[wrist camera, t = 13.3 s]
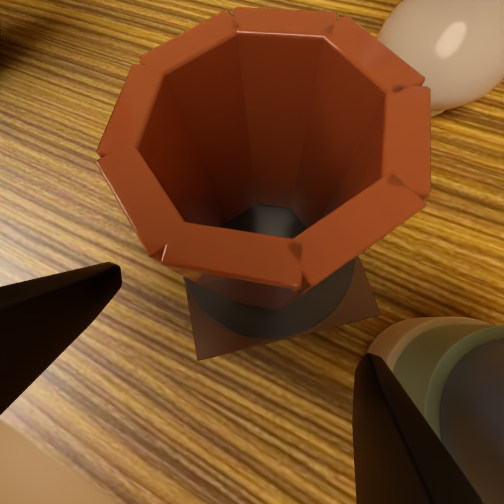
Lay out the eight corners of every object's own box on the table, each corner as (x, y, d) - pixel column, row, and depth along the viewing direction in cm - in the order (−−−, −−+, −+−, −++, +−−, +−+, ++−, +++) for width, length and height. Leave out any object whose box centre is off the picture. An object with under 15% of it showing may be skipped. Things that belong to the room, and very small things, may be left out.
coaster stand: (348, 316, 16) (387, 314, 11) (218, 349, 16) (193, 363, 11) (308, 200, 19) (324, 151, 13) (195, 228, 19) (166, 191, 13)
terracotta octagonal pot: (352, 260, 12) (513, 144, 4) (250, 333, 11) (208, 362, 3) (279, 172, 13) (293, -30, 6) (185, 233, 13) (57, 98, 5)
